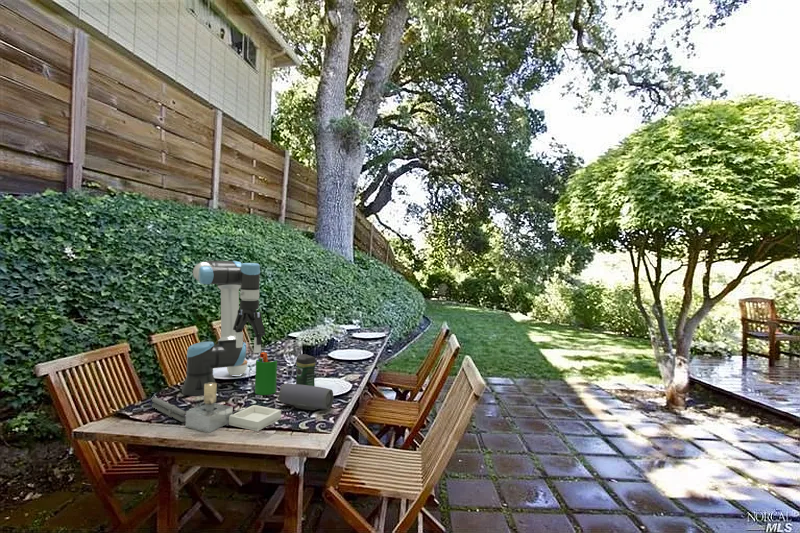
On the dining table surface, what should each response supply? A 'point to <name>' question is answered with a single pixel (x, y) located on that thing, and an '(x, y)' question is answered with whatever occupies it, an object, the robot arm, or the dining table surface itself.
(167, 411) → the metal rod assembly
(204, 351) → the robot arm
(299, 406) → the bluetooth speaker
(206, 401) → the tan knobbed cylinder
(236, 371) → the lidded jar
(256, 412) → the tray
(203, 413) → the block
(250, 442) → the dining table surface
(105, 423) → the dining table surface
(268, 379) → the green cylinder
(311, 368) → the coffee jar
